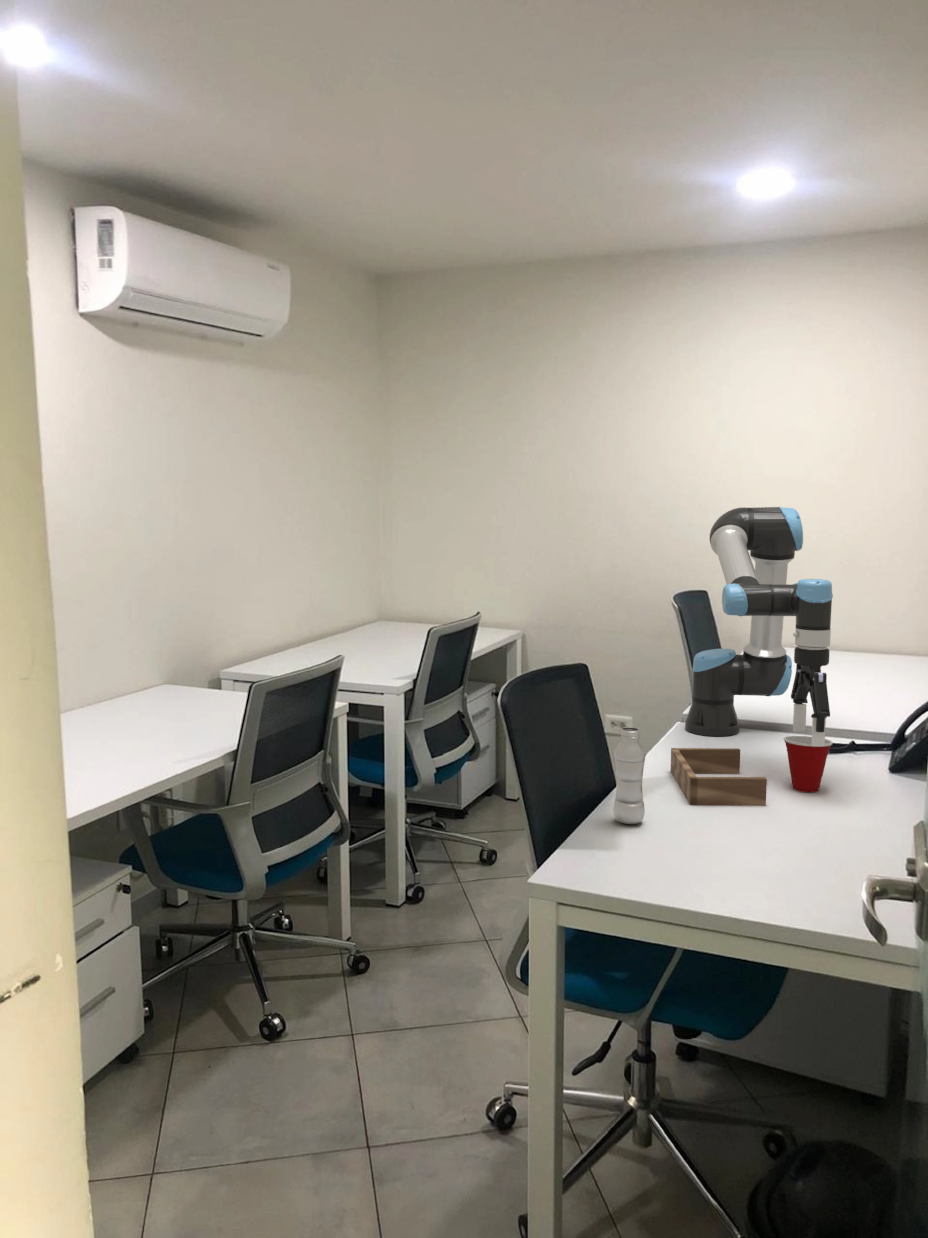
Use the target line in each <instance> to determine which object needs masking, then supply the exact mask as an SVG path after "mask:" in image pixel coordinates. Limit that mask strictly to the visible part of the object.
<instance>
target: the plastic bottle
mask: <svg viewBox="0 0 928 1238" xmlns="http://www.w3.org/2000/svg"><path fill="white" fill-rule="evenodd" d="M620 738H621V739H622V740H621V741H620V742H619V743H618V744H617V746H616V747H615V749H614V753H613V755H614V764H615V775H616V787H615V798H614V802H613V809H612V810H613V816H614V818H615V820H616V821H617V822H618V823H621V824H625V825H637V824H640V823H642V821H643V820H644V819H645V813H646V810H645V809H646V808H645V802H644V796H643V795H644V794H643V793H644V792H643V779H644V777H643V775H644V770H645V769H644V768H645V762H646V752H645V749H644V746H642V744H641V742H639V739H641V737H640V729H639V728H637V727H632V726H627V727H622V728H621V733H620Z"/></svg>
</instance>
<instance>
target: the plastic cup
mask: <svg viewBox="0 0 928 1238" xmlns="http://www.w3.org/2000/svg"><path fill="white" fill-rule="evenodd" d="M782 739H783V741H784V743H785V747H786V753H787V758H788V767H789V774H790V779H791V786H792V789H793V790H795V791H797V792H801V793H808V794H809V793H816V792H818V791H819V789H820V787H821V782H822V778H823V776H824V772H825V771H824V770H825V767H826V763H827V759H828V755H829V751H830V748H831V746H833V743H834V742H833V741H832V740H830V739H827V738H825V746H812V745H811V739H812V736H808V735H789V736H788V735H787V736H784V737H783V738H782Z"/></svg>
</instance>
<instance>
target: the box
mask: <svg viewBox="0 0 928 1238" xmlns="http://www.w3.org/2000/svg"><path fill="white" fill-rule="evenodd" d="M740 770H741V749H740V748H722V747H721V748H716V747H715V748H714V747H712V748H711V747H710V748H709V747H707V748H706V747H705V748H703V747H699V748H698V747H697V748H694V747H693V748H692V747H688V748H687V747H684V748H683V747H671V748H670V773H671V775H672V774H673V775H672V776H674V777H673V779H675V782H676V783H677V785H678V787H679V788H680V790H681V792H682V794H683V795H684V797H685V799H686V800H687V802H688V804H689V805H690V806H755V807H756V806H757V807H759V806H760V807H761V806H762V807H764V806H766V807H767V785H768V784H767V783H768V779H767V777H766V776H762V777H761V776H697V775H701V774H702V775H705V774H706V775H740V773H741V771H740Z"/></svg>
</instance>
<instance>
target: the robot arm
mask: <svg viewBox="0 0 928 1238" xmlns="http://www.w3.org/2000/svg"><path fill="white" fill-rule="evenodd" d="M709 543H710V548H711V550H712V551H713V553H714V554H715V555H717V556H718V561H719V563H720V564H719V565H720V566H721V571H722V574H723V577H724V581H725V583H726V584H725V585H724V587H723V588H722V593H721V594H722V595H721V604H722V611H723V613H724V614H725V615H727V616H737V617H747V616H748V617H751V619H750V620H751V621H750V631H749V633H750V634H749V643H747V644H746V645H745V646H744V647H743V652H742V654H737V652H736V650H735V649H732V648H713V649H712V648H711V649H707V650H702V651H700V652H697V653H696V654H695V655H694V656H693V663H692V688H691V689H692V692H691V695H692V696H691V697H692V698H691V705H690V708H689V710H688V713H687V716H686V718H685V724H684V725H685V726H684V730H685V731H687V732H689V733H692V734H696V735H701V736H708V737H729V736H734V735H737V734H738V733H739V732H740V722H739V719H738V715H737V712H736V708H735V705H734V703H735V701H734V700H735V699H734V698H735V696H759V697H760V696H761V697H762V696H764V697H771V696H776V697H777V696H782V695H783V694H785V693H786V691H788V688H789V686H790V684H791V679H792V673H793V669H792V668H793V666H792V665H793V663H792V658H791V657H790V655H788V654H787V649H785V648H784V647H783V646H782V643H783V641H782V640H783V629H784V617H795V632H793V633H792V635H793V636H792V637H794V644H795V645H796V646H795V648H794V651H793V654H794V656H793V659H794V660H793V662H794V663H795V664H796V667H795V669H796V670H795V676H794V680H793V684H792V689H791V694H790V699H791V700H792V702H793V717H792V718H793V720H792V721H793V723H792V731H793V732H802V733H803V732H806V723H807V704H809V703H808V695H809V696H810V701H811V706H812V711H813V713H812V714H811V716H810V717H811V720H812V721H811V737H812V739H811V745H812V746H825V739H826V723H827V722H826V721H827V720H826V719H827V717H831V710H830V702H829V701H830V700H829V693H828V684H827V672H822V667H824V666H828V665H829V664H830V652H831V651H830V649H829V647H830V646H831V634H832V633H831V632H832V631H831V622H832V607H833V605H832V602H833V597H834V595H833V584H832V581H830V580H829V579H823V578H822V579H821V578H802V579H800V580H798V581H797V582H796V583H792V584H787V579H788V568H789V564H790V562H791V561H792V560H794V559H795V556H796V555H795V554H796V552H798V551H801V550H803V549H802V548H803V545H804V530H803V523H802V519H801V517H800V513H799V512H798V510H797V509H795V508H793V507H783V506H771V507H769V506H768V507H767V506H765V507H764V506H763V507H736V508H733V509H731V510H728V511H726V512H724V513H723V514H722V515H721V516H719V517H718V518H717V520H716V521H715V522H714V524H713V525H712V527H711V529H710V531H709ZM749 551H750V552H749ZM752 560H754V562H755V563H754V564H753V562H752ZM754 565H755V566H754Z"/></svg>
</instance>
